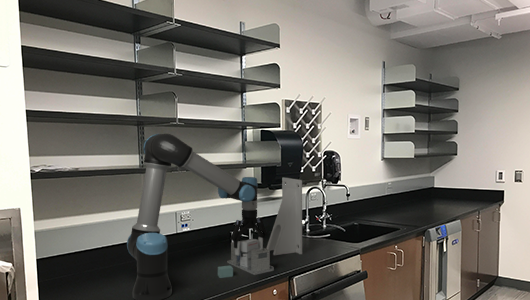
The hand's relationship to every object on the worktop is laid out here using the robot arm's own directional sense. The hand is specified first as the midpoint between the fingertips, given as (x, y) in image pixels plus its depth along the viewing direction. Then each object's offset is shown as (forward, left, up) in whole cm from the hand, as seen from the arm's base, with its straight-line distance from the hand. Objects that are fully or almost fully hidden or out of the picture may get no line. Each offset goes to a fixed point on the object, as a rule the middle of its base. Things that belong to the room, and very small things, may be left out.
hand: (249, 252), depth 202 cm
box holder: (0, 0, -7) cm, 7 cm away
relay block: (-16, -5, -7) cm, 18 cm away
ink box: (0, 0, -6) cm, 6 cm away
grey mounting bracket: (+30, +13, -7) cm, 34 cm away
